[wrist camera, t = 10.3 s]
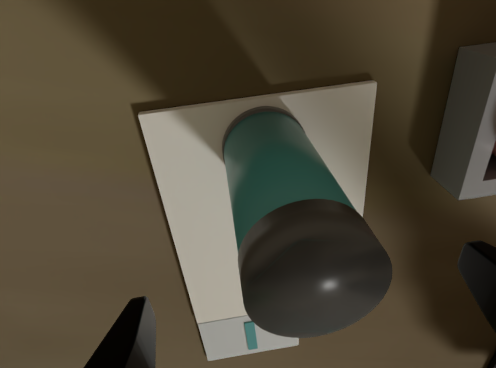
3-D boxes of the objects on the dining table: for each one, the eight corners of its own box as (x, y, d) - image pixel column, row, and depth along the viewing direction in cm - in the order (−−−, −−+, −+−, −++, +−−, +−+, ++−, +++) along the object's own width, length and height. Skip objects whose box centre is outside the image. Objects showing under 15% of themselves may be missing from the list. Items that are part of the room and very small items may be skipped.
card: (297, 341, 27) (299, 346, 26) (208, 357, 26) (208, 362, 26) (296, 303, 24) (298, 308, 24) (197, 320, 24) (197, 325, 23)
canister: (304, 175, 18) (382, 324, 10) (227, 187, 18) (250, 348, 10) (304, 100, 16) (402, 220, 8) (216, 112, 16) (234, 246, 8)
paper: (351, 291, 24) (354, 296, 24) (197, 318, 24) (197, 323, 23) (373, 80, 16) (377, 82, 16) (139, 111, 16) (137, 115, 15)
